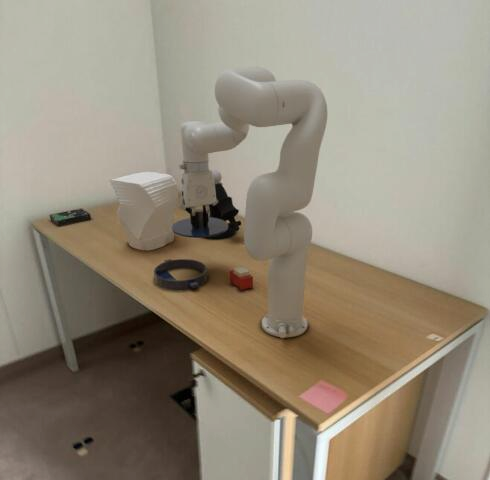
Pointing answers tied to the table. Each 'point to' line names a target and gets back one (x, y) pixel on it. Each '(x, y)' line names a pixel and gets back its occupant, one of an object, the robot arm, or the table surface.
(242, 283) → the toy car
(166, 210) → the paper stack
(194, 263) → the pot
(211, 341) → the table surface
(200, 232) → the lid
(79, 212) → the disk drive
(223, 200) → the sculpture
